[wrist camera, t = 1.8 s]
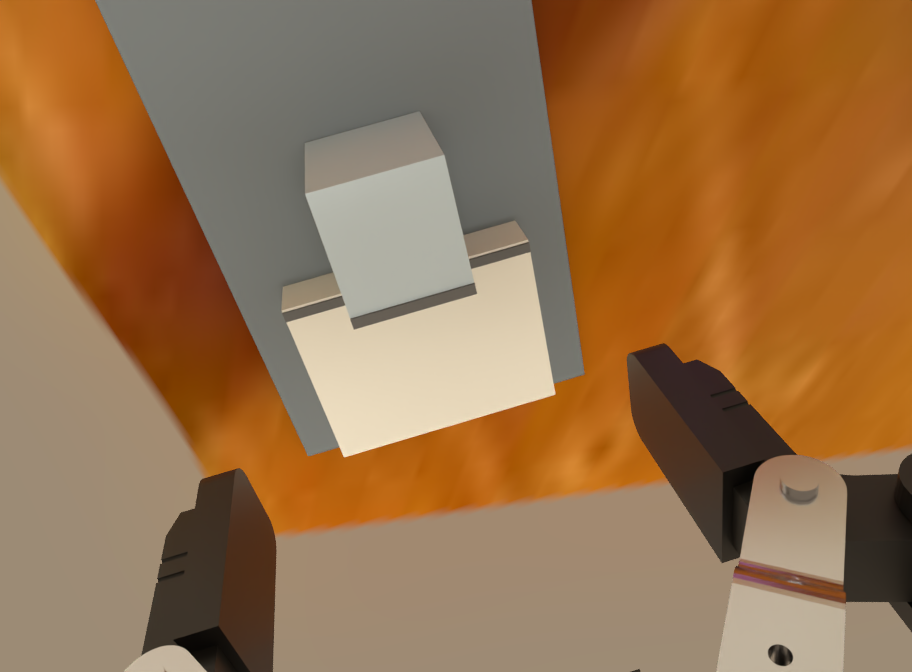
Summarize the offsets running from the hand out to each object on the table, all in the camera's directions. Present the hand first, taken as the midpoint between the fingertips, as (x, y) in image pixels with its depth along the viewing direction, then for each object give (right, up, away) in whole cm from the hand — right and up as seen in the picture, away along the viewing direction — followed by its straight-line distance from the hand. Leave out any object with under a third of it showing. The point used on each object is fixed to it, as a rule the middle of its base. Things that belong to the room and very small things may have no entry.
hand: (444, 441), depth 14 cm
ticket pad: (-3, +7, +14) cm, 16 cm away
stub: (-3, +8, +13) cm, 16 cm away
